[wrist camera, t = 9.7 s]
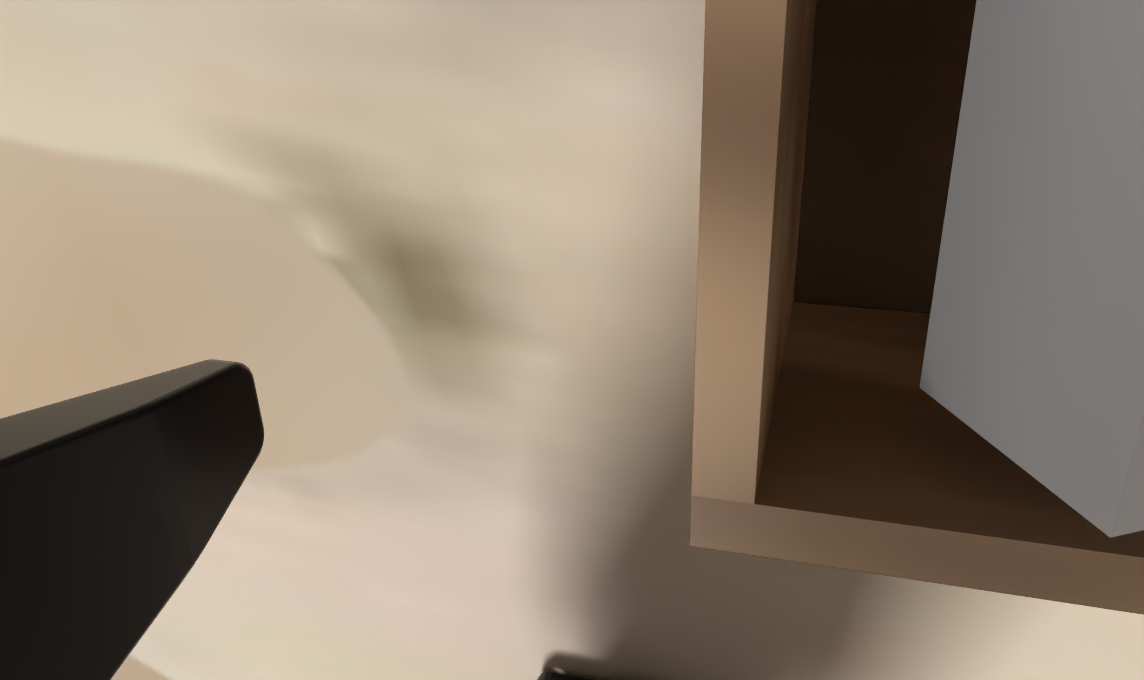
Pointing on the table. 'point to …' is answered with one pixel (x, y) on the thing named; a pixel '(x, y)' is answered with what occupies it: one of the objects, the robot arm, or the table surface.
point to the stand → (842, 379)
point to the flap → (1049, 251)
